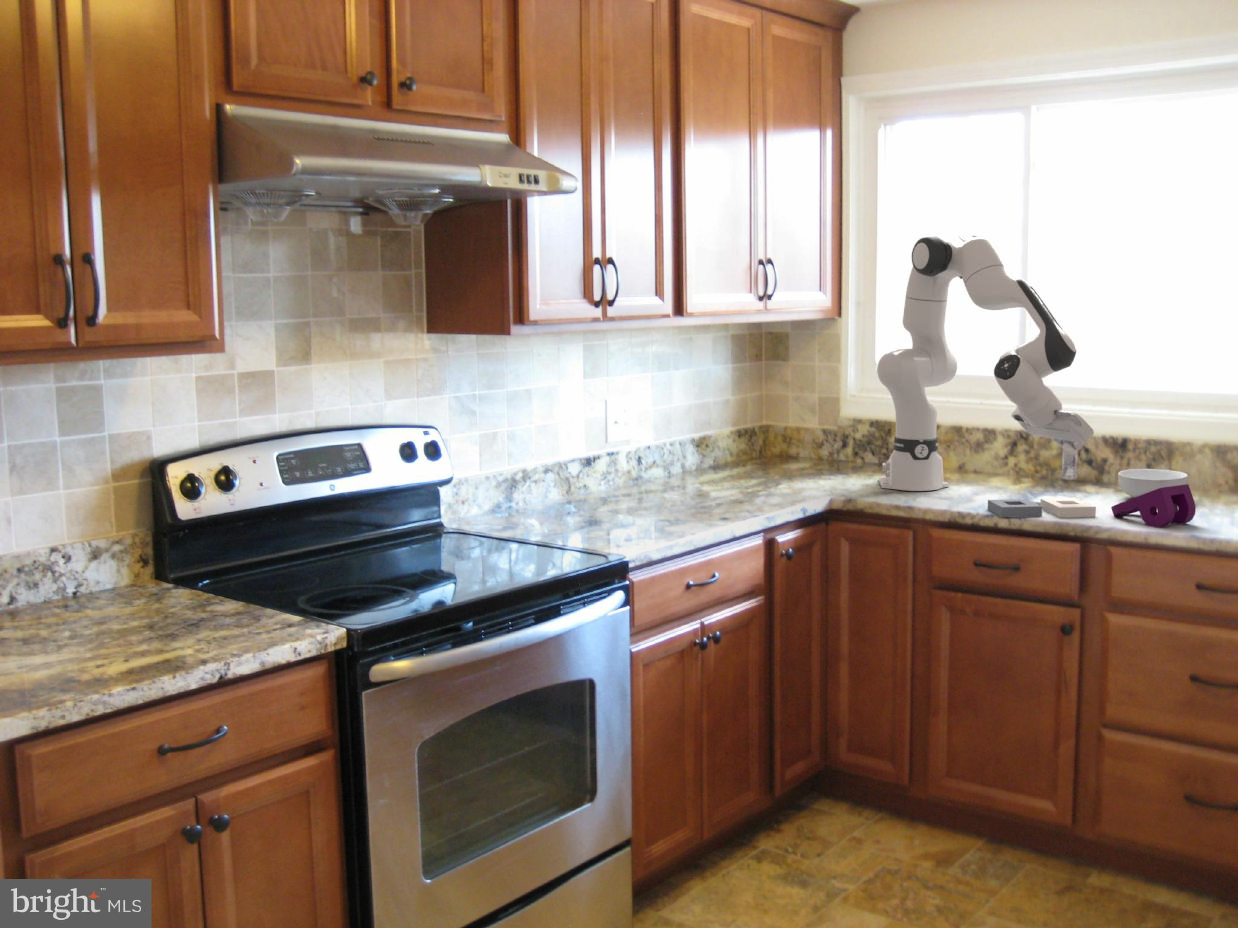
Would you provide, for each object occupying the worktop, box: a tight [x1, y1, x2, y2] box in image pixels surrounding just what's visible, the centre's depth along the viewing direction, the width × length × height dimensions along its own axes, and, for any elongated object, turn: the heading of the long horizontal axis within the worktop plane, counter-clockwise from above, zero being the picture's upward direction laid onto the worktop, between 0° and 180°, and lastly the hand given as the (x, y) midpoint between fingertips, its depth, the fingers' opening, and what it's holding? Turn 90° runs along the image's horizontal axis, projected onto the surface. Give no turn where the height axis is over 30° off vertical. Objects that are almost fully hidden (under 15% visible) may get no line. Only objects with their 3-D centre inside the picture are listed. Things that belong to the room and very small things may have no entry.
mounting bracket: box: [1110, 483, 1197, 529], centre depth 289 cm, size 9×8×18 cm
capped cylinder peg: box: [1061, 440, 1079, 481], centre depth 298 cm, size 3×3×15 cm
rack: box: [1039, 497, 1097, 519], centre depth 300 cm, size 12×9×2 cm
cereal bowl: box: [1117, 468, 1189, 498], centre depth 315 cm, size 17×17×7 cm
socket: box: [987, 498, 1043, 518], centre depth 301 cm, size 10×10×2 cm
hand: (1072, 446), depth 298 cm, fingers closed on capped cylinder peg, 3 cm apart
